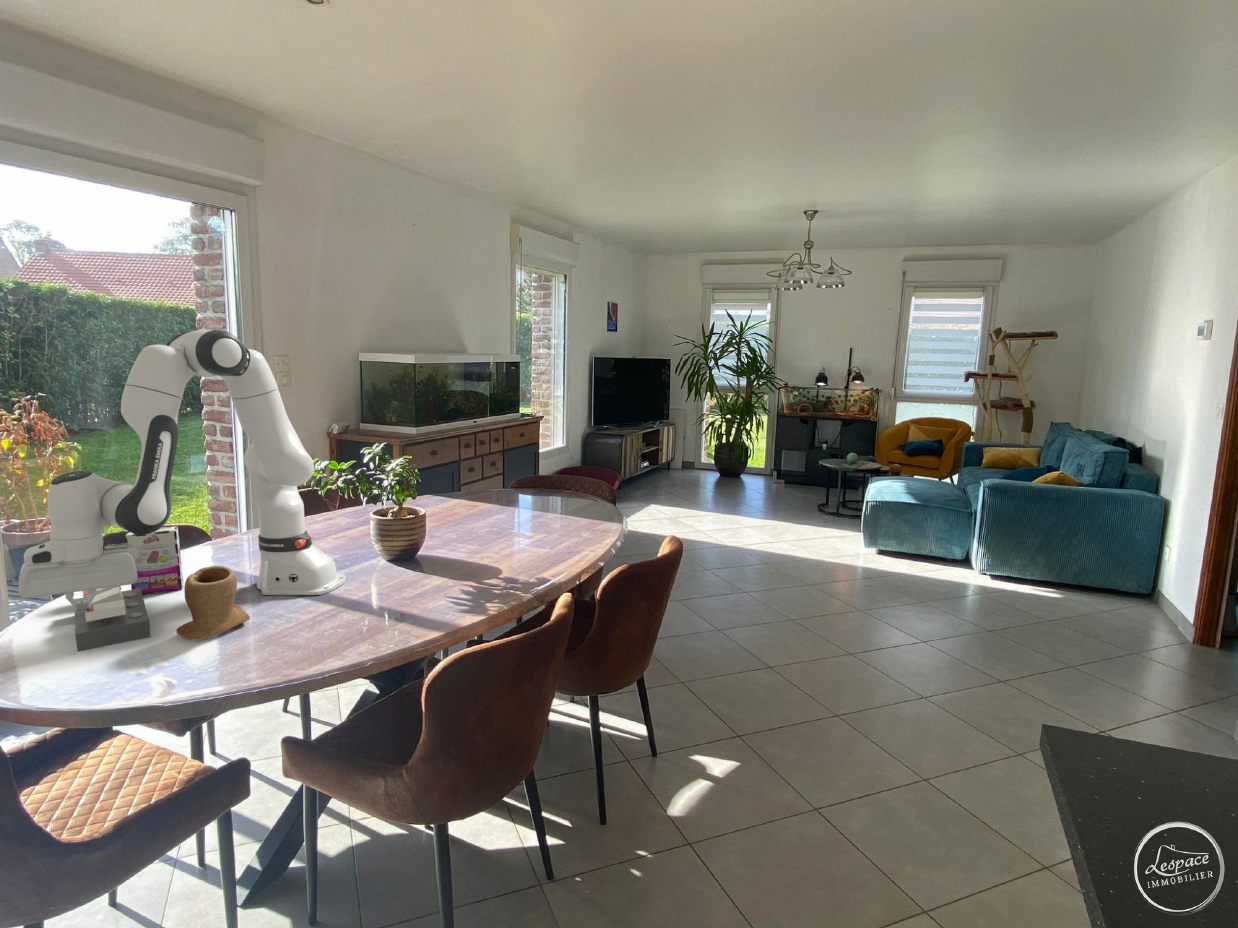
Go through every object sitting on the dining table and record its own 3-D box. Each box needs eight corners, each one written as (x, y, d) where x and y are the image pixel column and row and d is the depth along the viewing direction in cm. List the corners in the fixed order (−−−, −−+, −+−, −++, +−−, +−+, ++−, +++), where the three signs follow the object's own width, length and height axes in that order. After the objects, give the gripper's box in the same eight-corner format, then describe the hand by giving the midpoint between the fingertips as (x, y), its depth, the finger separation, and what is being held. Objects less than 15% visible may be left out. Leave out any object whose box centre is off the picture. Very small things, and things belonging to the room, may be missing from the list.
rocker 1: (120, 583, 168) (116, 576, 167) (121, 589, 165) (117, 581, 164) (86, 598, 165) (82, 590, 164) (87, 604, 161) (82, 596, 160)
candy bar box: (184, 584, 187) (178, 525, 184) (182, 590, 183) (176, 530, 180) (134, 590, 182) (127, 529, 179) (131, 596, 178) (124, 534, 175)
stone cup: (204, 648, 150) (198, 582, 147) (168, 637, 155) (162, 573, 152) (265, 623, 164) (261, 562, 161) (230, 614, 169) (225, 555, 166)
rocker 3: (124, 607, 157) (123, 598, 156) (126, 614, 153) (124, 605, 153) (85, 615, 153) (84, 605, 152) (86, 621, 149) (84, 612, 149)
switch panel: (142, 603, 174) (140, 583, 173) (150, 636, 155) (148, 614, 154) (76, 614, 166) (73, 594, 165) (77, 651, 147) (74, 628, 146)
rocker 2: (122, 593, 162) (118, 585, 162) (123, 599, 159) (119, 591, 158) (87, 607, 159) (82, 599, 158) (87, 614, 155) (83, 606, 154)
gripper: (135, 538, 157) (139, 597, 159) (16, 550, 144) (22, 614, 146) (137, 545, 152) (141, 605, 154) (14, 558, 139) (20, 623, 142)
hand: (82, 609), depth 150 cm, fingers closed
